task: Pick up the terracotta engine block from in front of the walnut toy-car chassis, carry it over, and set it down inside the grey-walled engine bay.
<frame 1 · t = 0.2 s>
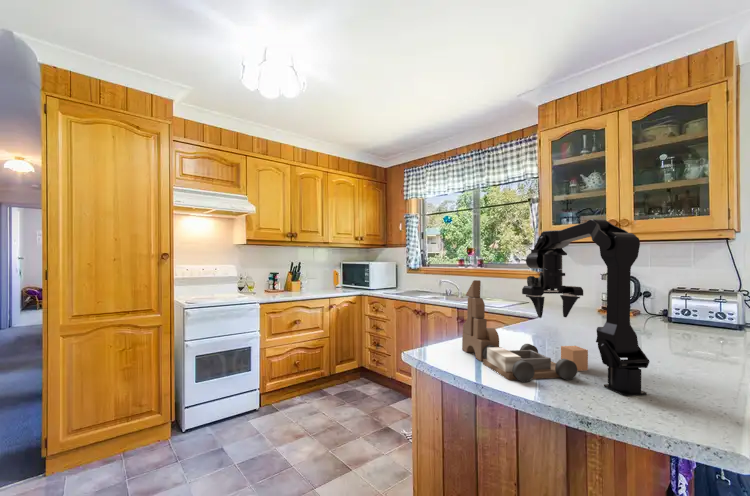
hand: (552, 317, 113), 14 cm above the counter, fingers open, 9 cm apart
chassis: (526, 369, 102), on the counter
wooden toy: (478, 355, 117), on the counter
engine block: (574, 368, 105), on the counter
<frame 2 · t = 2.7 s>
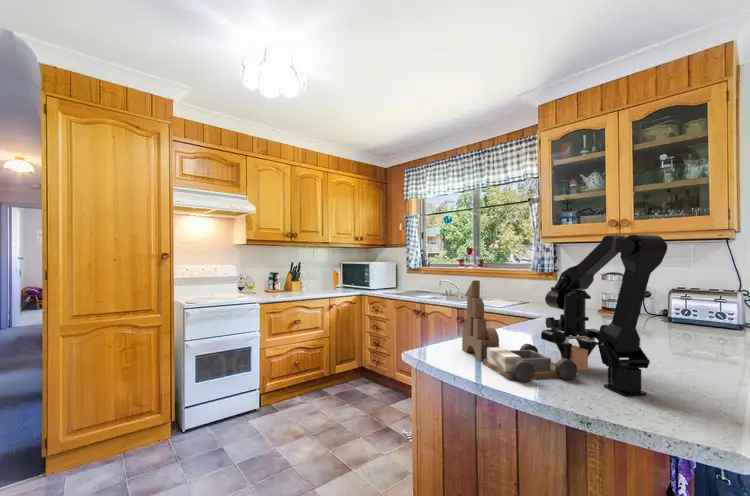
hand: (574, 364, 105), 1 cm above the counter, fingers closed on engine block, 5 cm apart
engine block: (574, 367, 105), on the counter, touching gripper
everything else where it was.
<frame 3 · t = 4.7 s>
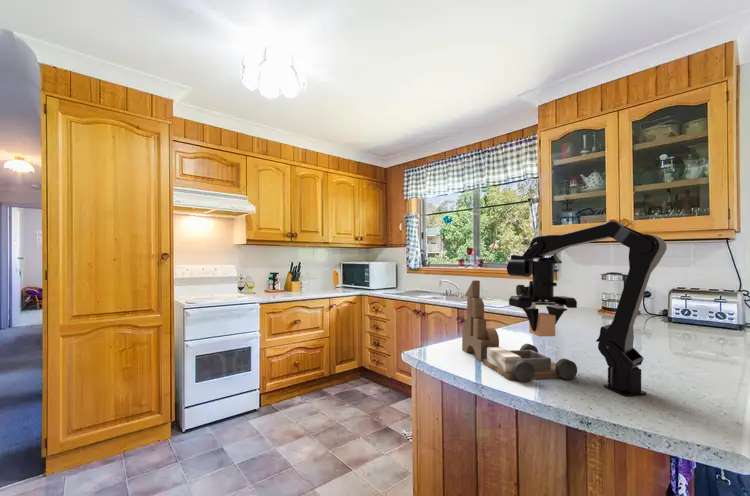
hand: (542, 330, 103), 11 cm above the counter, fingers closed on engine block, 5 cm apart
engine block: (541, 334, 103), point 10 cm above the counter, touching gripper
everything else where it was.
when the fingers open (4 cm above the counter, at t = 6.7 s): engine block drops 2 cm, resting on chassis.
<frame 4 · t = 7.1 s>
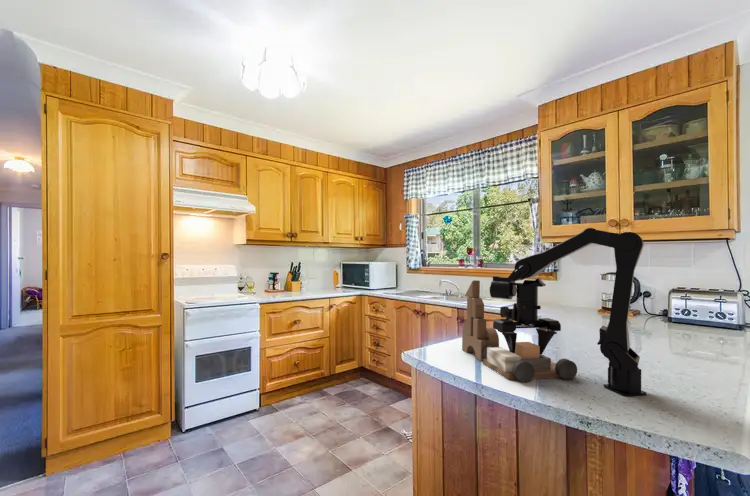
hand: (526, 354, 102), 5 cm above the counter, fingers open, 9 cm apart
engine block: (526, 364, 102), point 1 cm above the counter, touching chassis
everything else where it was.
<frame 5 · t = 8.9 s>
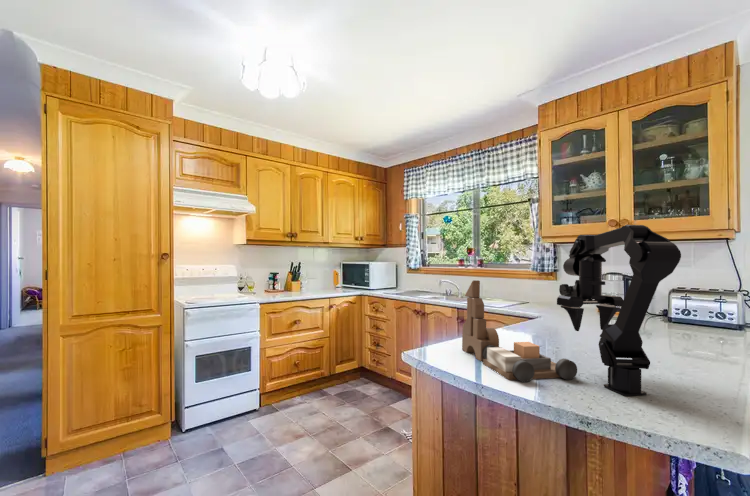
hand: (589, 330, 102), 12 cm above the counter, fingers open, 9 cm apart
nothing on the counter moved.
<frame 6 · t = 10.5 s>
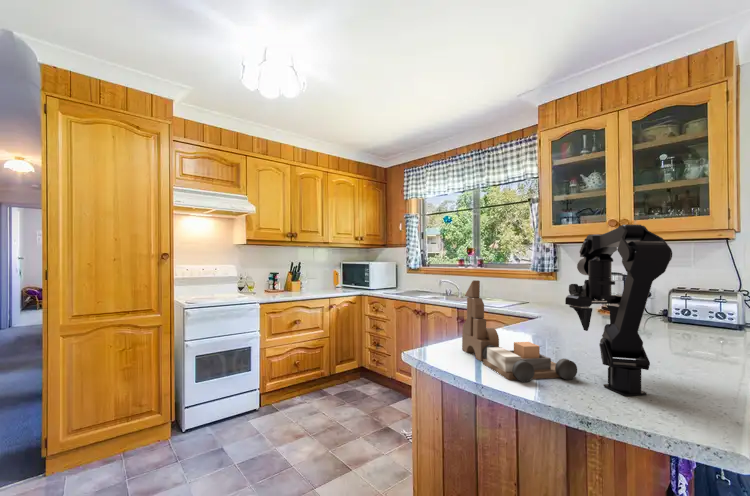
hand: (599, 330, 102), 12 cm above the counter, fingers open, 9 cm apart
nothing on the counter moved.
at the end: engine block 0.1 cm off-centre on the chassis, point 1.5 cm above the chassis's base; engine block tilted 0°; the gripper is holding nothing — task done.
